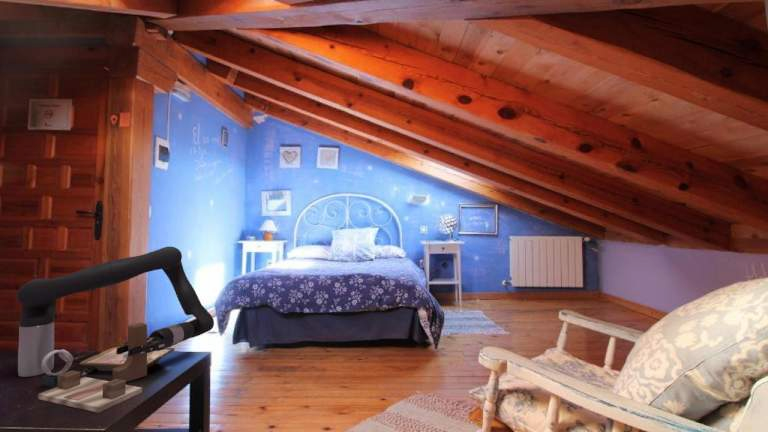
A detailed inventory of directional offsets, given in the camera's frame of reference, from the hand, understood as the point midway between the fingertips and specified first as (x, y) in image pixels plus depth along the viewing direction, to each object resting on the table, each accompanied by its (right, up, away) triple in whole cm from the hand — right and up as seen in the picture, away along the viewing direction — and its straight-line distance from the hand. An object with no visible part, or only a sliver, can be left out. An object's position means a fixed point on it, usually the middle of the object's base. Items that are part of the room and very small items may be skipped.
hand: (123, 352), depth 123 cm
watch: (-21, -10, -1) cm, 24 cm away
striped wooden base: (-3, -10, -9) cm, 14 cm away
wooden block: (+1, -10, +2) cm, 11 cm away
